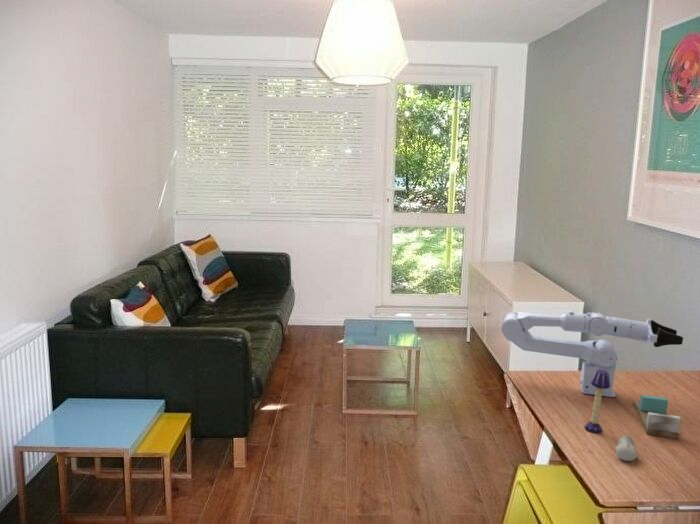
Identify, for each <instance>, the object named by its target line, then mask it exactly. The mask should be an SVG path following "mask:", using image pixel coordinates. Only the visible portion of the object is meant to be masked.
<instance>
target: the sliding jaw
mask: <svg viewBox="0 0 700 524" xmlns="http://www.w3.org/2000/svg"><path fill="white" fill-rule="evenodd" d="M639 401H640V410H642V411H649V412H656V413H664V414H666V413H667V410H668V405H669V404H668V403H669V399H668V398H667V397H661V396H654V395H649V394H647V395H645V394H641V396H640V400H639Z"/></svg>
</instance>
